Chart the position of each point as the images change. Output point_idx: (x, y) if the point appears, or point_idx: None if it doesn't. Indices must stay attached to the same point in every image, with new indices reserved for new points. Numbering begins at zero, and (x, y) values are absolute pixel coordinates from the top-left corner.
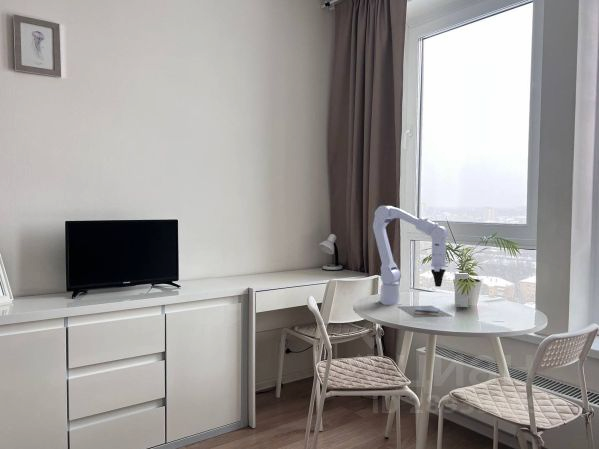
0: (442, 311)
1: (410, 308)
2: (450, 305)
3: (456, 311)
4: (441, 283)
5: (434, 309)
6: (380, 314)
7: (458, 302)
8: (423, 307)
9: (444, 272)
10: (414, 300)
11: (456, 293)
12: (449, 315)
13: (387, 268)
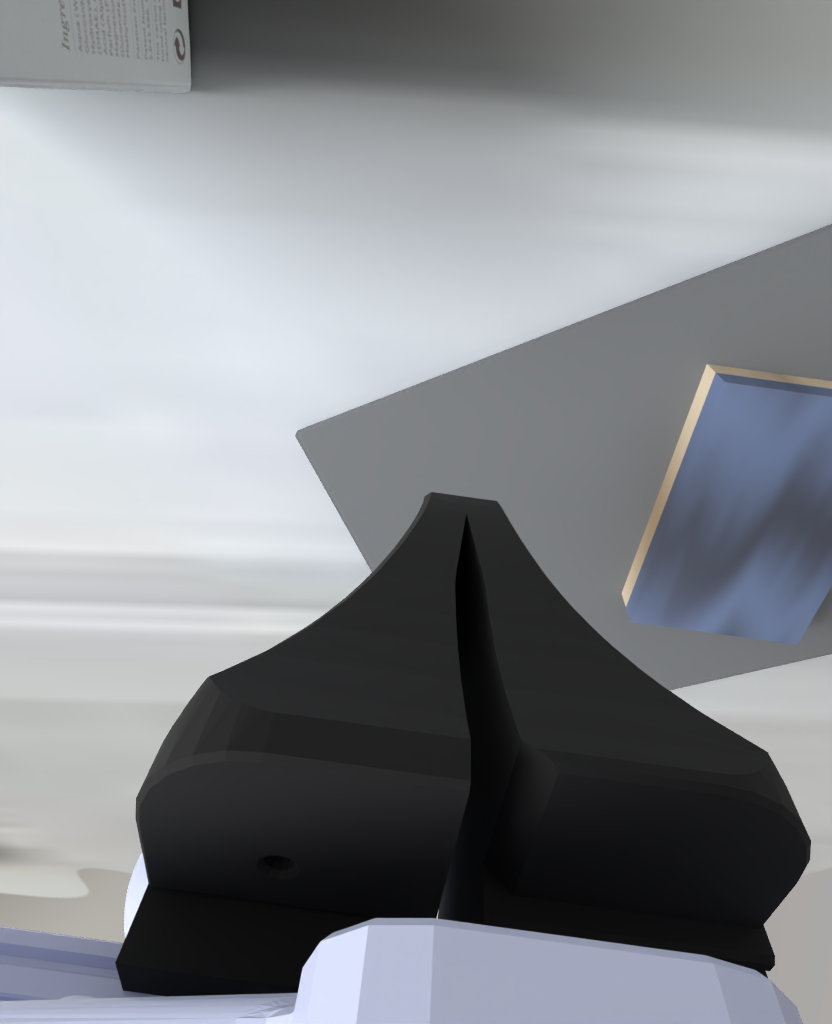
0: (637, 318)
1: None
2: (96, 162)
3: (523, 85)
4: (448, 516)
5: (790, 448)
6: None
7: (158, 11)
8: (668, 562)
9: (429, 693)
10: (38, 588)
11: (68, 41)
12: None
13: None
